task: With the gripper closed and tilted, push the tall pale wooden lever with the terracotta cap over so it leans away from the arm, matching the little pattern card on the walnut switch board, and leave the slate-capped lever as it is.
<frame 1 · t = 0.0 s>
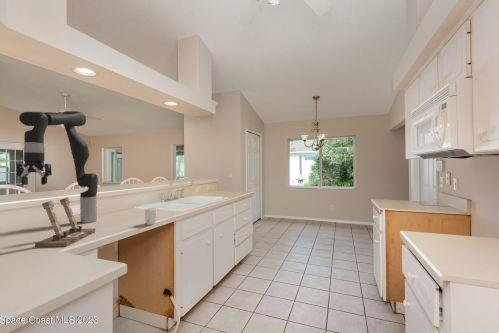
hand: (34, 184, 114), 29 cm above the table, tool pointing down, fingers open, 8 cm apart
terracotta lever: (70, 214, 127), point 11 cm above the table, hinge at 20.0°
slate lever: (53, 219, 115), point 11 cm above the table, hinge at 20.0°
switch board: (68, 238, 121), on the table
white cup: (151, 223, 153), on the table
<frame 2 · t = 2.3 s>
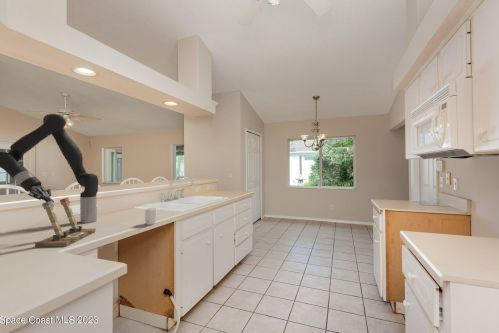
hand: (51, 203, 126), 18 cm above the table, tool tilted 45°, fingers closed
nothing on the table moved.
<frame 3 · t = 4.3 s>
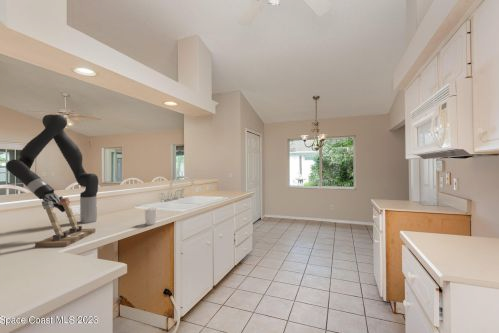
hand: (64, 210, 126), 14 cm above the table, tool tilted 45°, fingers closed
terracotta lever: (70, 214, 127), point 11 cm above the table, hinge at 20.0°, touching gripper
everything else where it was.
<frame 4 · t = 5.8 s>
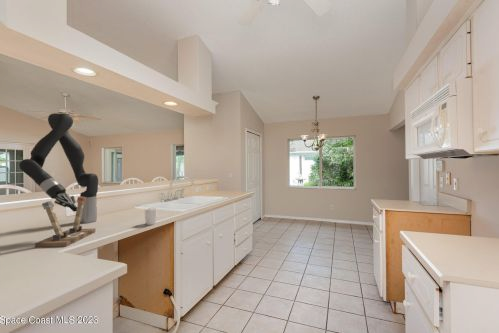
hand: (76, 210, 127), 14 cm above the table, tool tilted 45°, fingers closed
terracotta lever: (78, 214, 127), point 12 cm above the table, hinge at -10.6°, touching gripper
everything else where it was.
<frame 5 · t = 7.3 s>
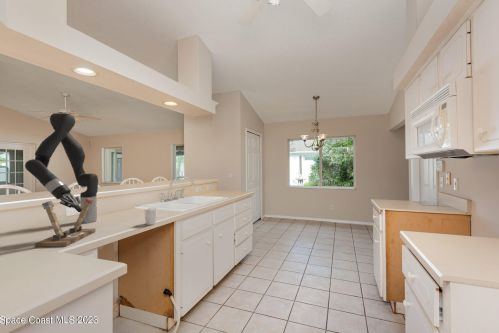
hand: (81, 211, 127), 14 cm above the table, tool tilted 45°, fingers closed
terracotta lever: (82, 215, 127), point 11 cm above the table, hinge at -23.7°, touching gripper
everything else where it was.
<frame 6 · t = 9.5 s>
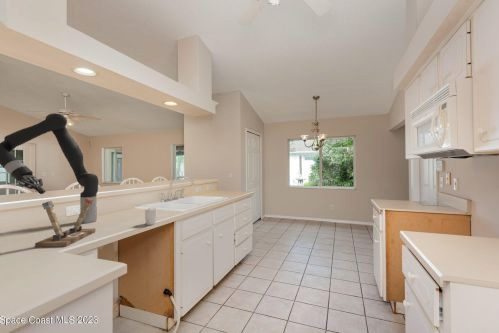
hand: (43, 192, 125), 24 cm above the table, tool tilted 45°, fingers closed
terracotta lever: (82, 215, 127), point 11 cm above the table, hinge at -23.7°
everything else where it was.
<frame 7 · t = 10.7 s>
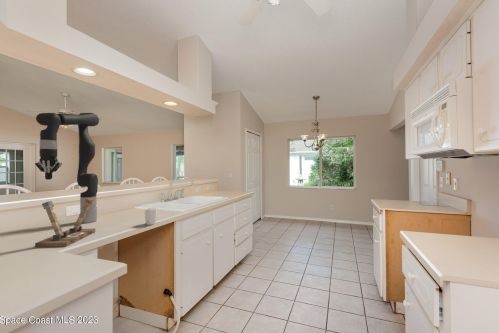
hand: (48, 179, 128), 31 cm above the table, tool pointing down, fingers closed
nothing on the table moved.
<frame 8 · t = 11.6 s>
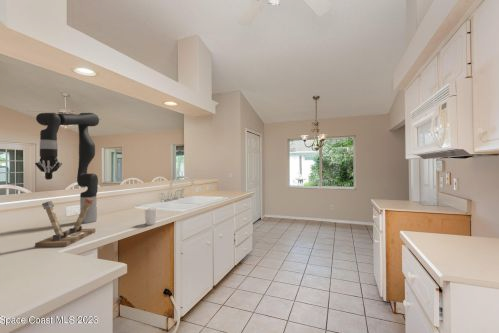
hand: (48, 179, 128), 31 cm above the table, tool pointing down, fingers closed
nothing on the table moved.
at the end: terracotta lever at -24° (first picture: +20°); slate lever at +20° (first picture: +20°) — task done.
